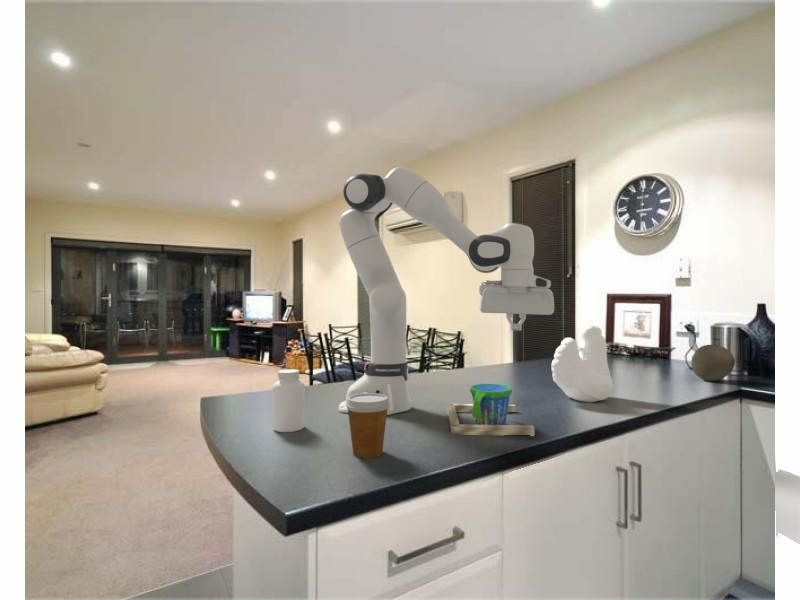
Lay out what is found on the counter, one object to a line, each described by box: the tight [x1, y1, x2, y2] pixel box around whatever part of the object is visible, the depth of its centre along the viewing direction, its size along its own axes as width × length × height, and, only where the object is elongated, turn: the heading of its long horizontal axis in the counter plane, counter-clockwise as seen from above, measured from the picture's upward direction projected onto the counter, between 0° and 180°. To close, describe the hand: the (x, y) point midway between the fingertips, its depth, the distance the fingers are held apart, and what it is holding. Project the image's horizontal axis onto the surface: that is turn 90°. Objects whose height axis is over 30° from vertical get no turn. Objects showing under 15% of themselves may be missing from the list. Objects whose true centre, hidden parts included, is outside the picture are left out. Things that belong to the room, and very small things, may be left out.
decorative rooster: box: [550, 325, 614, 403], centre depth 142 cm, size 25×16×25 cm, turn 109°
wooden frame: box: [446, 403, 535, 437], centre depth 116 cm, size 20×24×2 cm
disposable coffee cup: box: [346, 394, 390, 459], centre depth 92 cm, size 10×10×12 cm
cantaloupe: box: [690, 344, 736, 382], centre depth 176 cm, size 14×14×15 cm
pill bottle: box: [272, 368, 306, 433], centre depth 110 cm, size 8×8×15 cm
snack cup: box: [469, 383, 513, 425], centre depth 113 cm, size 16×10×10 cm
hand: (515, 330), depth 119 cm, fingers closed
